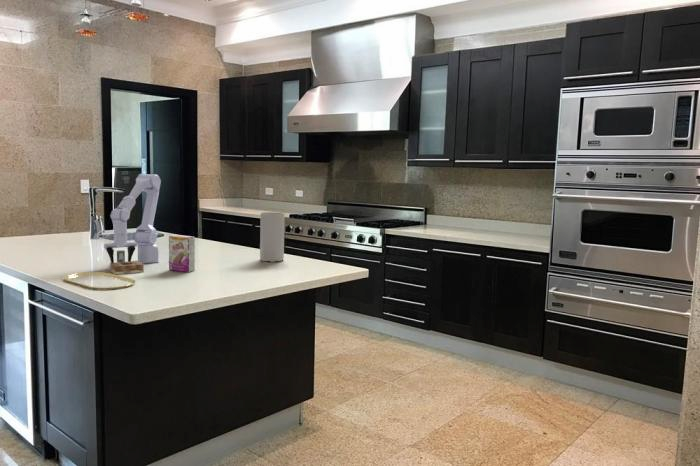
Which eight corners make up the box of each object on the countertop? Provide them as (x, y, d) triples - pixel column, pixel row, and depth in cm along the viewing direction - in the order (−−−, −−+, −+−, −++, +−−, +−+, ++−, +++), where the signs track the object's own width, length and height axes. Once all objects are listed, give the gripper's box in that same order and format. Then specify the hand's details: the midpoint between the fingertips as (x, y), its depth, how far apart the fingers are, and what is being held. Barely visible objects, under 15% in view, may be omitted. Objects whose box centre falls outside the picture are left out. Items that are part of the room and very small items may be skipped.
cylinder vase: (268, 263, 282) (268, 214, 279) (255, 259, 291) (256, 212, 288) (288, 260, 290) (289, 214, 287) (275, 257, 300) (275, 212, 297)
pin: (123, 266, 261) (123, 250, 260) (125, 267, 258) (125, 251, 257) (116, 267, 258) (115, 250, 257) (118, 268, 256) (117, 251, 255)
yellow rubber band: (98, 273, 245) (98, 270, 245) (144, 285, 224) (144, 282, 224) (56, 280, 230) (55, 276, 229) (101, 293, 209) (101, 289, 209)
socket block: (137, 268, 258) (137, 260, 257) (143, 271, 250) (143, 264, 249) (110, 270, 251) (110, 263, 250) (115, 274, 243) (115, 266, 242)
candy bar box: (168, 270, 255) (168, 235, 253) (175, 268, 260) (174, 234, 258) (188, 272, 251) (188, 237, 249) (195, 270, 256) (195, 236, 254)
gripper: (105, 235, 249) (106, 265, 250) (138, 234, 257) (139, 262, 259) (102, 234, 254) (102, 262, 256) (134, 232, 263) (134, 260, 265)
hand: (120, 262), depth 258 cm, fingers open, 7 cm apart
